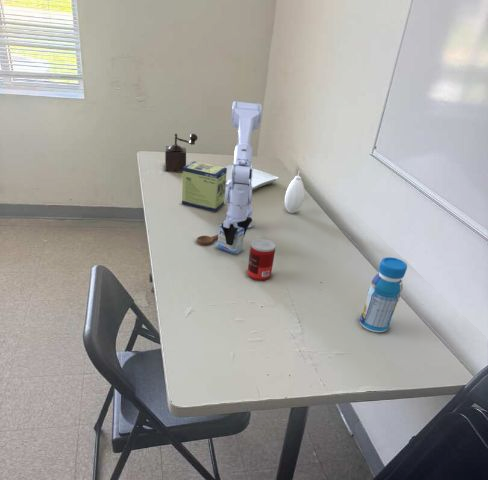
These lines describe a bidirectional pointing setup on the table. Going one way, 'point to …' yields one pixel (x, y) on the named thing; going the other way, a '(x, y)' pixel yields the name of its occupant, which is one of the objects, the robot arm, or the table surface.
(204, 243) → the wooden spoon
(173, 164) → the manual coffee grinder
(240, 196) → the robot arm
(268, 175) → the square plate
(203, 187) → the protein box
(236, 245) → the medicine box
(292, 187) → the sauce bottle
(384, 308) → the beverage bottle
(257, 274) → the canned food
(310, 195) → the table surface
